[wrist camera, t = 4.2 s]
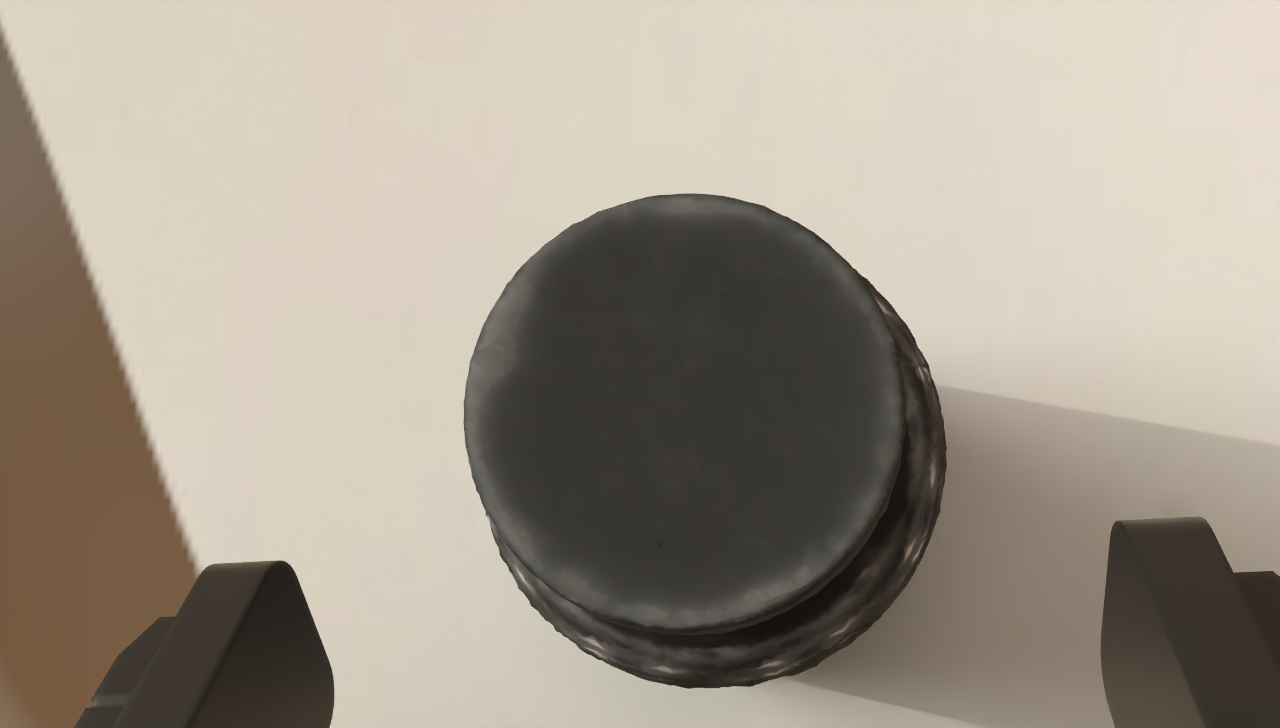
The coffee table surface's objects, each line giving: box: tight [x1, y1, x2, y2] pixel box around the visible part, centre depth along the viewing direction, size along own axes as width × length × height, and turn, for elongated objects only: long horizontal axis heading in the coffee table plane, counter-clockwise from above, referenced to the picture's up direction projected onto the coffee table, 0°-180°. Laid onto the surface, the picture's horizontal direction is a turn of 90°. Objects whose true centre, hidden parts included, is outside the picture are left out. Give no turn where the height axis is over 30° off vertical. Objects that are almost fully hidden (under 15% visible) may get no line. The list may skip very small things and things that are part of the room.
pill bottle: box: [464, 194, 947, 689], centre depth 18 cm, size 6×6×11 cm
